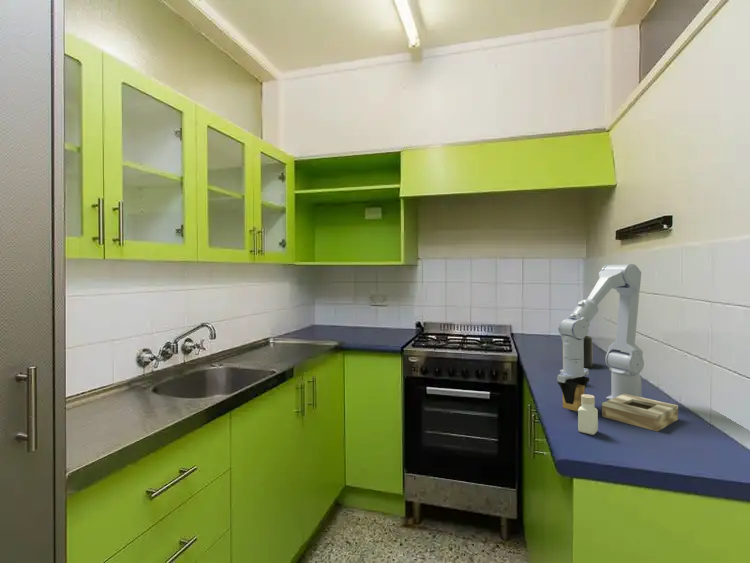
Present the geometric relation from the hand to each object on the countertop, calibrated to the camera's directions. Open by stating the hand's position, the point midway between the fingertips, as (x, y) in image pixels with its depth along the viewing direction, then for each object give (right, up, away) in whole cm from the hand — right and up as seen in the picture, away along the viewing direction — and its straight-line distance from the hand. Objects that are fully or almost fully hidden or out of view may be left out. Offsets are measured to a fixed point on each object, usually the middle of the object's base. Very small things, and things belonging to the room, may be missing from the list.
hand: (573, 401), depth 126 cm
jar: (+28, 0, +54) cm, 61 cm away
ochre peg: (0, -2, 0) cm, 2 cm away
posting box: (+14, -2, -10) cm, 17 cm away
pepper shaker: (-5, -3, -18) cm, 19 cm away
